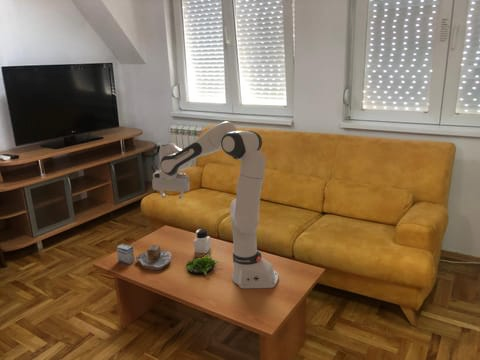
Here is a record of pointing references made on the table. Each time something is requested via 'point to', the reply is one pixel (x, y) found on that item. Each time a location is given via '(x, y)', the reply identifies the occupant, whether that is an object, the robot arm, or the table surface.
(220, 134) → the robot arm
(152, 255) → the walnut block
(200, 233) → the medicine bottle
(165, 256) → the brain slice
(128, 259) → the medicine box
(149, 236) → the table surface
